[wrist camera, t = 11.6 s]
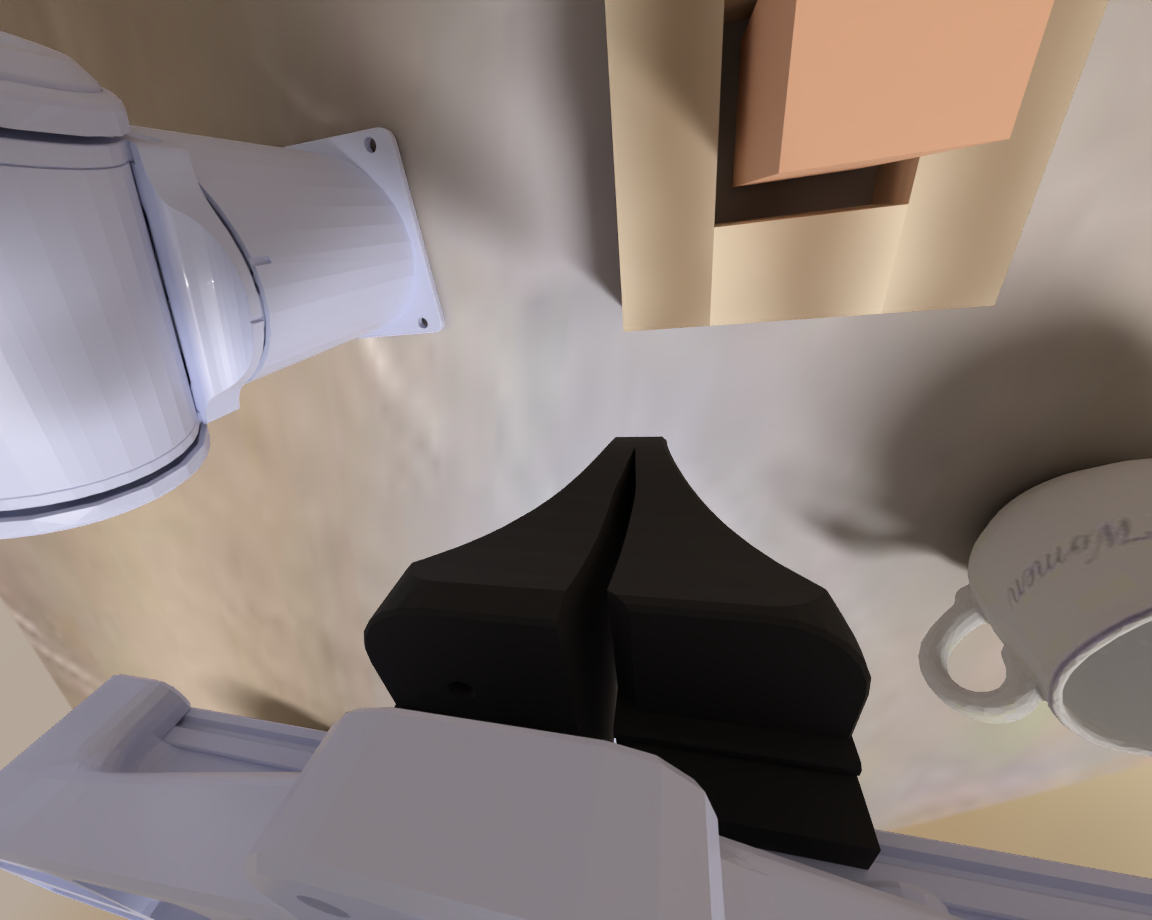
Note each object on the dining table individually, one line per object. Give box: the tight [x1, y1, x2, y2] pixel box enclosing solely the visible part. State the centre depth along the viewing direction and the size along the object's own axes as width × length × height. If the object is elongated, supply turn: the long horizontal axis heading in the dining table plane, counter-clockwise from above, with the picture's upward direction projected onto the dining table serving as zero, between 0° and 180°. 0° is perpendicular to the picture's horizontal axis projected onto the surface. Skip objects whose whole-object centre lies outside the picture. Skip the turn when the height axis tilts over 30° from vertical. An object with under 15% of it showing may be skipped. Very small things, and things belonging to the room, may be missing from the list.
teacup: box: [919, 458, 1152, 756], centre depth 17 cm, size 14×11×8 cm
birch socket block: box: [605, 0, 1108, 332], centre depth 13 cm, size 12×12×3 cm
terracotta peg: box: [732, 0, 1054, 188], centre depth 11 cm, size 4×4×8 cm
